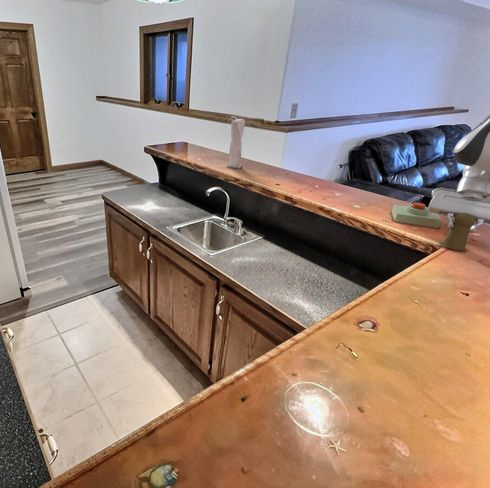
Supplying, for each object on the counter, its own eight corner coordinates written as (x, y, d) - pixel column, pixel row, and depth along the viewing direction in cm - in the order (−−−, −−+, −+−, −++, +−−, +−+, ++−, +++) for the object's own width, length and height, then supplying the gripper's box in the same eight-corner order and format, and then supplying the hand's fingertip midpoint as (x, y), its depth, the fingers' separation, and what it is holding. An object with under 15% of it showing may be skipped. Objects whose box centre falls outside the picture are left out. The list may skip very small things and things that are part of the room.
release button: (423, 207, 133) (424, 203, 132) (425, 211, 130) (426, 206, 129) (410, 206, 135) (412, 201, 134) (412, 209, 131) (414, 205, 131)
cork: (447, 248, 111) (460, 216, 106) (438, 240, 117) (451, 210, 112) (468, 251, 110) (483, 219, 105) (459, 242, 115) (473, 211, 110)
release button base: (432, 218, 136) (437, 206, 134) (438, 228, 127) (443, 215, 125) (391, 212, 141) (395, 200, 139) (394, 221, 133) (398, 209, 130)
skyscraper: (225, 167, 203) (230, 116, 191) (227, 164, 210) (232, 115, 198) (240, 168, 201) (245, 117, 188) (241, 165, 208) (247, 115, 195)
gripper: (436, 181, 116) (423, 217, 113) (519, 194, 105) (506, 234, 102) (432, 191, 121) (420, 225, 118) (510, 204, 110) (498, 242, 107)
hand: (460, 229), depth 110 cm, fingers closed on cork, 4 cm apart
